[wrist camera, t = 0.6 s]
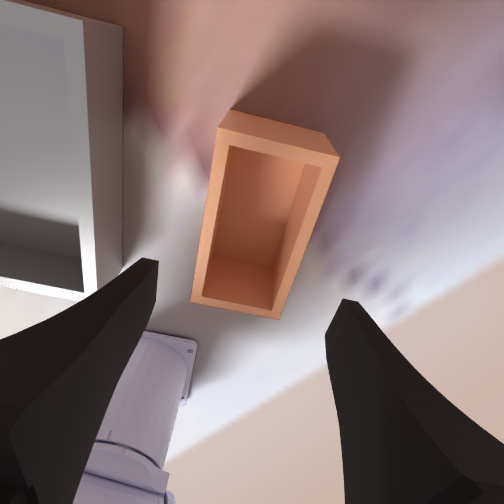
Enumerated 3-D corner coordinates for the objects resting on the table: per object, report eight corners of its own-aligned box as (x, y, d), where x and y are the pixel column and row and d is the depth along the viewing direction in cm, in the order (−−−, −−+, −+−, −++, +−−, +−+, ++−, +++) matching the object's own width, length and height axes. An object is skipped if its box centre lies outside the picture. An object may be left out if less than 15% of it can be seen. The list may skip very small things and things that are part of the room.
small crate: (277, 271, 23) (278, 319, 19) (204, 255, 23) (190, 302, 19) (323, 132, 18) (340, 157, 14) (230, 108, 18) (217, 127, 13)
